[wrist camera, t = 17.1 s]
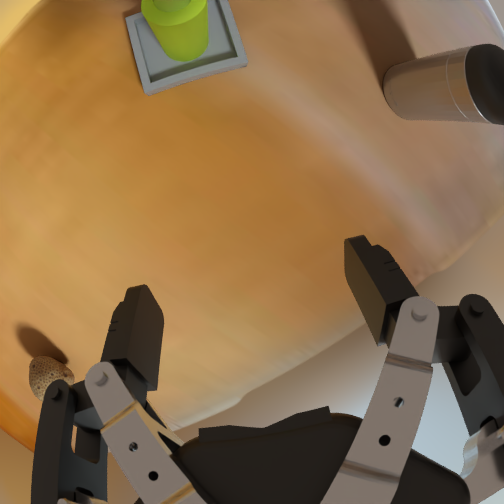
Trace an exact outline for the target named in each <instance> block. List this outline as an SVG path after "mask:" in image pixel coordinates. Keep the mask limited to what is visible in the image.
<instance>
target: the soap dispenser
mask: <svg viewBox="0 0 504 504" xmlns="http://www.w3.org/2000/svg"><path fill="white" fill-rule="evenodd" d="M141 11H142V14H143V15H144V17H145V19H146V21H147V22H148V24H149V26H150V27H151V29H152V31H153V33H154V34H155V36H156V38H157V40H158V41H159V43H160V45H161V47H162V48H163V50H164V52H165V53H166V55H167V56H168V57H169V58H171V59H173V60H175V61H180V62H186V61H191V60H194V59H196V58H198V57H199V56H201V55H202V54H203V53H204V52H205V50H206V48H207V46H208V43H209V35H208V3H207V0H142V2H141Z"/></svg>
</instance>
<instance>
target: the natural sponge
mask: <svg viewBox="0 0 504 504" xmlns="http://www.w3.org/2000/svg"><path fill="white" fill-rule="evenodd" d="M29 368H30V371H29V383H30V387H31V389H32V391H33V393H34V395H35V396H36V397H37V398H38V399H39V400H41V401H42V402H43V399H44V394H45V391H46V389H47V387H48V386H49V385H50V384H51V383H52V382H53V381H55V380H57V379H62V380H64V381H66V382H67V383H68V384H69V385H73V383H74V375H73V373H72V371H71V370H70V369H69V368H67V367H66V366H65V365H64V364H63V363H61V362H59V361H57V360H55V359H53V358H51V357H49V356H37V357H35V358H34V359H33V360H32V361H31V363H30V366H29Z"/></svg>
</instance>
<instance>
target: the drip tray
mask: <svg viewBox="0 0 504 504" xmlns="http://www.w3.org/2000/svg"><path fill="white" fill-rule="evenodd" d="M207 3H208V35H209V43H208V46H207V48H206V50H205V52H204V53H203V54H202V55H201V56H199V57H198V58H196V59H194V60H191V61H186V62H180V61H175V60H173V59H171V58H169V57H168V56H167V55H166V53H165V52H164V50H163V48H162V47H161V45H160V43H159V41H158V40H157V38H156V36H155V34H154V33H153V31H152V29H151V27H150V26H149V24H148V22H147V21H146V19H145V17H144V15H143V14H142V12H139V13H136V14H134V15H131V16H129V17H126V18H125V19H126V23H127V27H128V31H129V35H130V40H131V44H132V48H133V51H134V55H135V59H136V63H137V67H138V71H139V74H140V78H141V82H142V85H143V89H144V92H145V94H147V95H148V96H150V95H153V94H155V93H158V92H161V91H163V90H166V89H169V88H172V87H175V86H178V85H181V84H184V83H187V82H190V81H194V80H197V79H200V78H204V77H207V76H211V75H214V74H218V73H222V72H226V71H230V70H234V69H238V68H242V67H246V66H247V64H248V60H247V56H246V53H245V50H244V47H243V44H242V41H241V38H240V35H239V32H238V29H237V26H236V23H235V20H234V17H233V14H232V11H231V8H230V6H229V3H228V0H207Z"/></svg>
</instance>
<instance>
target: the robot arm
mask: <svg viewBox="0 0 504 504" xmlns="http://www.w3.org/2000/svg"><path fill="white" fill-rule="evenodd" d="M383 90H384V95H385V98H386V100H387V102H388V104H389V106H390V107H391V109H392V110H393V111H394V112H395V113H396V114H397V115H398V116H400V117H401V118H404V119H406V120H432V121H462V122H477V123H491V124H499V125H504V50H503V49H501V48H500V47H498V46H496V45H492V44H481V45H476V46H470V47H465V48H460V49H456V50H451V51H447V52H442V53H438V54H434V55H430V56H426V57H422V58H418V59H415V60H411V61H407V62H404V63H401V64H397V65H394V66H392V67H391V68H389V69H388V71H387V72H386V74H385V76H384V80H383ZM344 261H345V276H346V279H347V282H348V285H349V287H350V289H351V291H352V293H353V295H354V297H355V299H356V301H357V303H358V305H359V307H360V309H361V311H362V314H363V316H364V318H365V320H366V322H367V324H368V326H369V328H370V331H371V333H372V335H373V337H374V339H375V342H376V344H377V346H381V345H384V344H387V346H388V348H389V351H388V354H387V357H386V360H385V363H384V366H383V369H382V371H381V374H380V377H379V380H378V383H377V386H376V388H375V391H374V394H373V396H372V399H371V401H370V404H369V407H368V409H367V412H366V414H365V416H364V419H362V418H360V417H356V416H353V415H349V414H343V413H330V410H329V406H326V407H322V408H318V409H314V410H310V411H306V412H302V413H297V414H294V415H292V416H290V417H288V418H286V419H284V420H282V421H279V422H277V423H275V424H272V425H270V426H268V427H265V428H253V427H242V426H232V425H227V426H219V427H209V428H199V436H198V437H196V438H194V439H191V440H189V441H188V442H186V443H183V442H182V440H181V439H179V438H178V437H177V436H176V435H175V434H174V433H173V432H172V430H171V429H170V428H169V427H168V425H167V424H166V423H165V422H164V420H163V419H162V418H161V416H160V415H159V414H158V412H157V411H156V410H155V408H154V407H153V406H152V404H151V403H150V401H149V400H148V399H147V398H146V397H147V391H155V390H157V386H158V374H159V364H160V354H161V345H162V336H163V328H164V316H163V313H162V310H161V308H160V306H159V305H158V303H157V301H156V300H155V298H154V296H153V295H152V293H151V291H150V289H149V288H148V286H147V285H145V284H144V285H139V286H135V287H130V288H128V289H127V291H126V295H125V298H124V301H123V302H120V303H119V305H118V306H117V307H116V309H115V310H114V312H113V315H112V319H111V324H110V326H109V330H108V331H109V332H108V333H107V337H106V341H105V345H104V349H103V353H102V357H101V361H100V362H99V363H97V364H95V365H94V366H92V367H91V368H90V369H89V371H88V372H87V374H86V377H85V380H83V381H80V382H78V383H75V384H73V385H69V384H68V383H67V382H66V381H64V380H62V379H57V380H55V381H53V382H52V383H51V384H50V385H49V386H48V387H47V389H46V391H45V394H44V399H43V403H42V408H41V413H40V419H39V424H38V431H37V437H36V444H35V452H34V461H33V471H32V485H31V504H108V503H107V454H108V447H109V449H110V451H111V453H112V454H113V456H114V458H115V459H116V461H117V463H118V464H119V466H120V468H121V469H122V471H123V472H124V474H125V476H126V477H127V479H128V480H129V482H130V483H131V485H132V486H133V488H134V489H135V491H136V492H137V494H138V495H139V498H138V500H137V501H136V502H135V503H134V504H478V503H480V502H481V501H483V500H485V499H486V498H488V497H489V496H491V495H493V494H494V493H496V492H497V491H499V490H500V489H502V488H504V325H503V323H502V322H501V320H500V318H499V317H498V315H497V314H496V312H495V310H494V309H493V307H492V306H491V304H490V303H489V302H488V300H486V299H485V298H484V297H482V296H480V295H477V294H469V295H466V296H464V297H463V298H462V300H461V301H460V304H459V306H436V304H435V303H434V302H433V301H431V300H430V299H428V298H425V297H420V296H419V295H418V293H417V292H416V290H415V289H414V287H413V286H412V284H411V283H410V281H409V280H408V278H407V277H406V275H405V274H404V272H403V271H402V269H400V267H399V265H398V264H397V262H395V260H394V258H393V257H392V255H391V254H390V253H389V251H387V250H386V249H384V248H383V247H381V246H380V245H374V246H371V244H370V243H369V241H368V240H367V238H366V237H365V236H364V235H360V236H356V237H352V238H348V239H345V241H344ZM432 363H442V365H443V367H444V370H445V372H446V374H447V377H448V379H449V382H450V384H451V386H452V389H453V391H454V394H455V397H456V399H457V402H458V404H459V407H460V410H461V412H462V415H463V418H464V421H465V424H466V427H467V429H468V432H469V435H470V437H469V439H468V440H467V442H466V443H465V446H464V450H463V457H464V466H463V469H462V472H461V474H460V475H458V474H457V473H455V472H453V471H451V470H449V469H447V468H446V467H444V466H442V465H440V464H438V463H436V462H435V461H433V460H431V459H429V458H427V457H425V456H424V455H422V454H420V453H419V452H417V451H415V450H413V449H412V448H411V447H412V444H413V441H414V438H415V436H416V432H417V429H418V426H419V423H420V420H421V416H422V413H423V410H424V406H425V402H426V399H427V395H428V391H429V387H430V383H431V378H432V373H433V367H431V364H432ZM73 425H74V426H76V427H77V434H76V444H75V453H74V452H73V450H72V447H71V440H72V431H73Z"/></svg>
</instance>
